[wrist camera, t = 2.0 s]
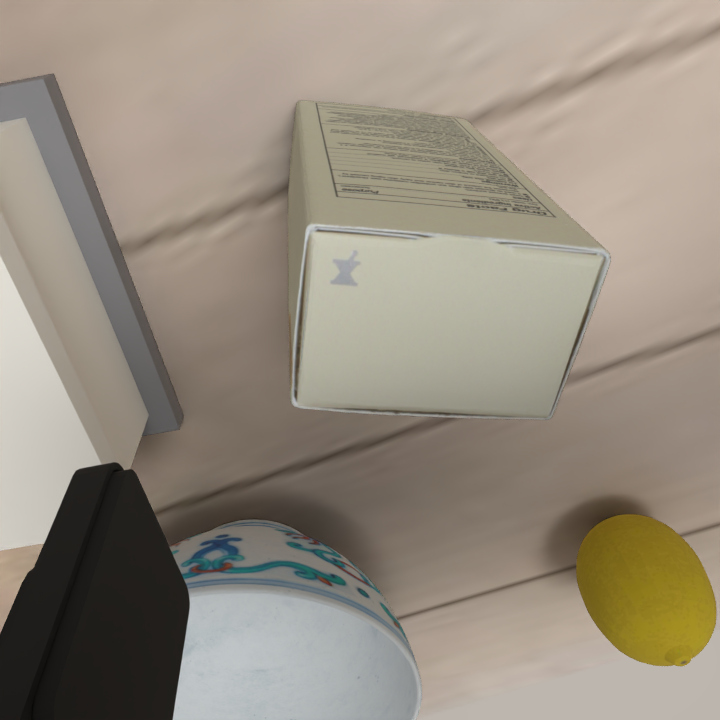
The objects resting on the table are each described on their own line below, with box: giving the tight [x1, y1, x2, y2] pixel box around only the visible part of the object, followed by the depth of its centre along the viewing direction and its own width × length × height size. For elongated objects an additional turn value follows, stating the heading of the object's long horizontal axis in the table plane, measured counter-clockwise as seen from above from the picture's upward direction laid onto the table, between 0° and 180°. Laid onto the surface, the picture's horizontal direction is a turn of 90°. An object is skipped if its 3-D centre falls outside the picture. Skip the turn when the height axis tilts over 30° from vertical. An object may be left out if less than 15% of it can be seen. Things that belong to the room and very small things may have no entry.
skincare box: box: [288, 101, 611, 420], centre depth 19 cm, size 6×4×12 cm
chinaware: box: [169, 519, 422, 720], centre depth 31 cm, size 15×15×8 cm
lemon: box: [576, 514, 716, 666], centre depth 31 cm, size 6×6×8 cm
